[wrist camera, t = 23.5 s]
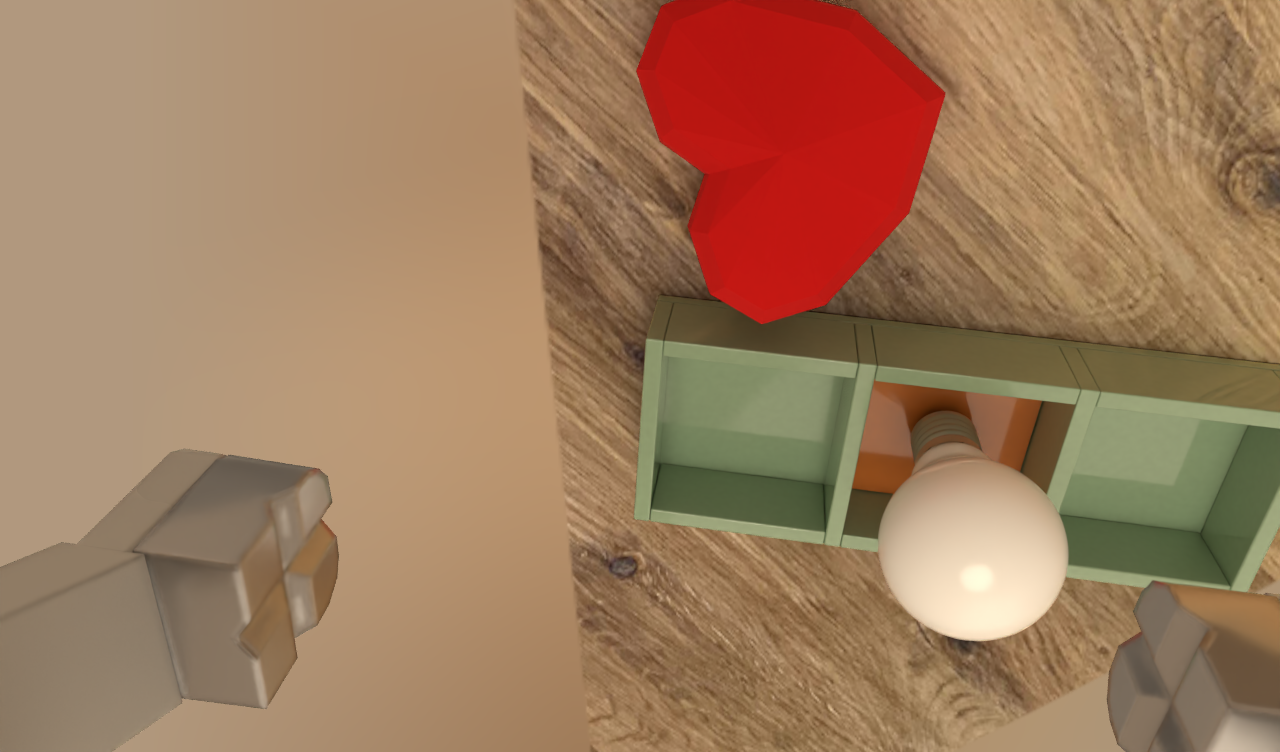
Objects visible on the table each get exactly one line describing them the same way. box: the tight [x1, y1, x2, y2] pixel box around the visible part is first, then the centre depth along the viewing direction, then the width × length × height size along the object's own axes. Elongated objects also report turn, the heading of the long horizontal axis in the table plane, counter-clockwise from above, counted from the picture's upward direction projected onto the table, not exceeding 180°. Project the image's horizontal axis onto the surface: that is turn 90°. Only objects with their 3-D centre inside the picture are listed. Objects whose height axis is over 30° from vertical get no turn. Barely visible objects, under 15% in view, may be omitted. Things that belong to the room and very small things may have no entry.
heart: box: [636, 0, 945, 324], centre depth 34 cm, size 12×4×10 cm
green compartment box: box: [634, 295, 1280, 592], centre depth 40 cm, size 25×9×4 cm, turn 87°
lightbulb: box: [878, 411, 1069, 641], centre depth 36 cm, size 6×6×11 cm
